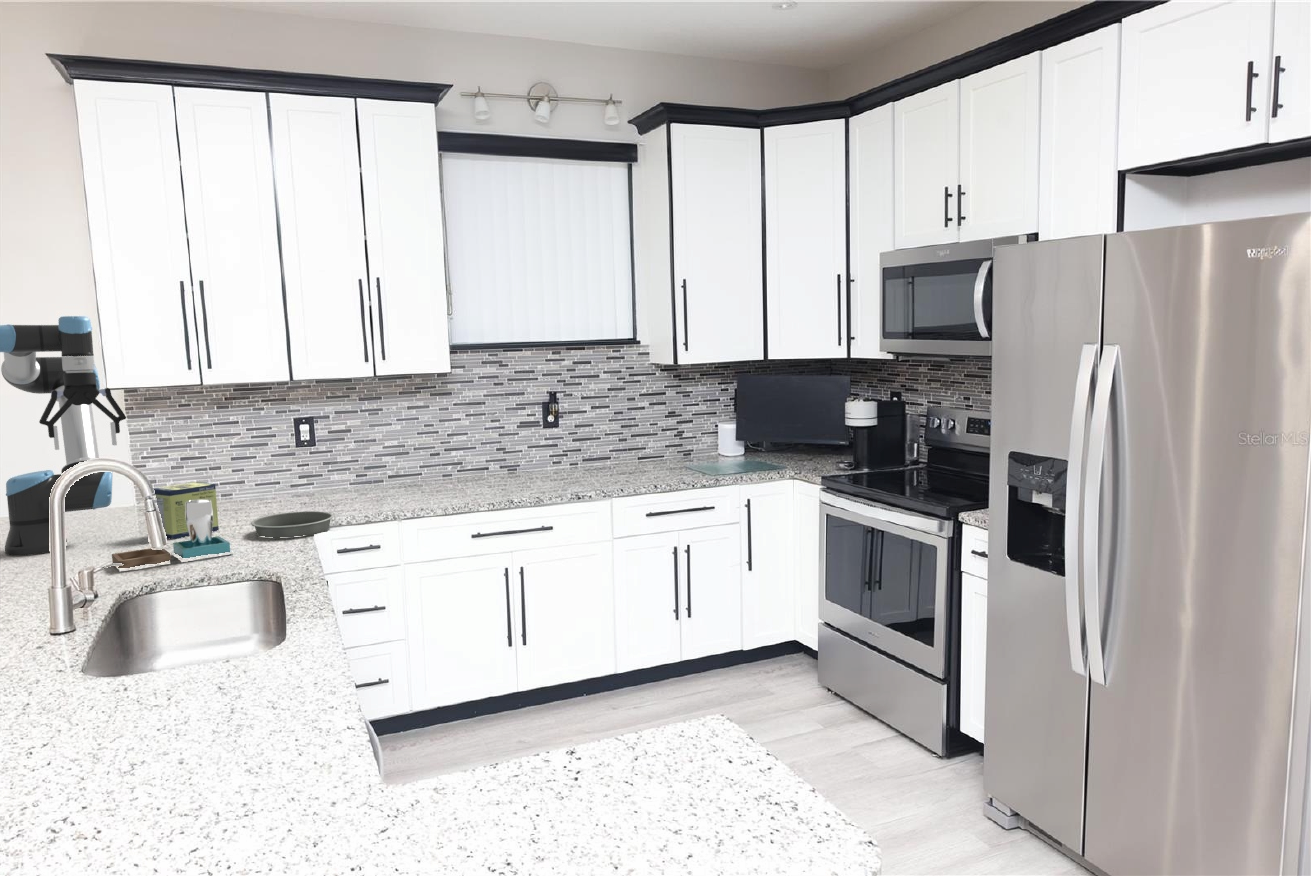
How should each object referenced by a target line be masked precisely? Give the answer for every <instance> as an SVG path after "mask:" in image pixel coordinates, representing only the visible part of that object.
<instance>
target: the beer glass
mask: <svg viewBox="0 0 1311 876" xmlns="http://www.w3.org/2000/svg"><path fill="white" fill-rule="evenodd" d="M185 519H186V524H187V528H188V532H189V535H190V536H189V538H190V539H189V540H191V548H192V547H198V546H205V545H212V537H213V535H212V534H213V532H212V527H213V510H212V504H211V500H210V499H199V500H191V501H187V502H185Z"/></svg>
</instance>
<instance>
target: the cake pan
mask: <svg viewBox="0 0 1311 876" xmlns="http://www.w3.org/2000/svg"><path fill="white" fill-rule="evenodd" d="M333 518H334V514H333V513H332V512H326V511H319V510H318V511H316V510H314V511H313V510H312V511H311V510H308V511H290V512H282V513H275V514H269V515H266V516H265V515H264V516H261V517H258V518H255V519H253V520H252V521H250V525H251V526H253V527H254V529H255V532H256V534H257V536H258V537H259V536H265V537H273V538H278V539H281V538H280V537H294V536H303V535H309V536H312V535H313V536H314V535H318V534H321V533H324V532H326V531H328V530H329V529H330V524H331V520H332V519H333ZM303 537H304V536H303ZM273 538H272V539H273Z"/></svg>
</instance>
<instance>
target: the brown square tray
mask: <svg viewBox="0 0 1311 876" xmlns="http://www.w3.org/2000/svg"><path fill="white" fill-rule="evenodd" d="M151 548H152V547H150V548H143V549H136V550H129V551H123V552H115V553H111V559H112V560H111V561H112V564H113V563H122V564H124V565H123V566H119V567H118V568H130V567H135V566H140V565H145V564H157V563H161V562H165V561H169V560H171V561H172V558H171V557H172V555H171V552H170V551H167V550H166V549H165V548H164V549H162V550H152V549H151Z"/></svg>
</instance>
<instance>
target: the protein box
mask: <svg viewBox="0 0 1311 876" xmlns="http://www.w3.org/2000/svg"><path fill="white" fill-rule="evenodd" d="M216 487H217V486H216V483H207V482H200V481H195V482H190V483H189V482H188V483H181V484H175V485H171V486H170V485H169V486H162V487H155V488H153V489H154V490H155V494H156V498H157V505H158V508H159V511H160V514H161V518H162V523H163V527H164V529H165V532H166V536H167V538H166V539H169V538H170V539H169V540H176V539H177V538H178V539H181V537H183V538H186V537H185V536H188V537H190V535H189V532H188V528H187V524H186V519H185V502H187V501H191V500H199V499H210V500H211V504H212V510H213V527H212V531H213V532H217V530H218V531H219V529H220V528H219V517H218V515H219V513H218V503H217V502H218V501H217V489H216Z"/></svg>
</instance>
